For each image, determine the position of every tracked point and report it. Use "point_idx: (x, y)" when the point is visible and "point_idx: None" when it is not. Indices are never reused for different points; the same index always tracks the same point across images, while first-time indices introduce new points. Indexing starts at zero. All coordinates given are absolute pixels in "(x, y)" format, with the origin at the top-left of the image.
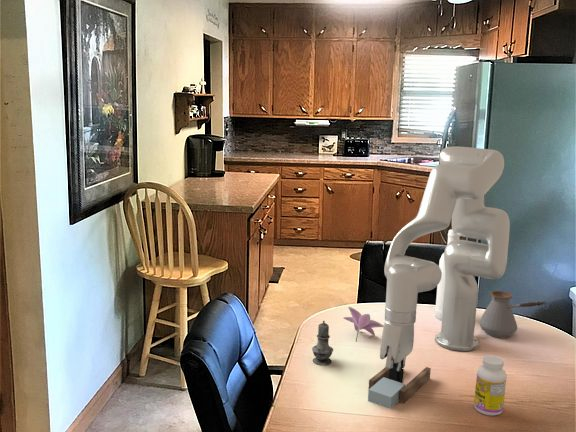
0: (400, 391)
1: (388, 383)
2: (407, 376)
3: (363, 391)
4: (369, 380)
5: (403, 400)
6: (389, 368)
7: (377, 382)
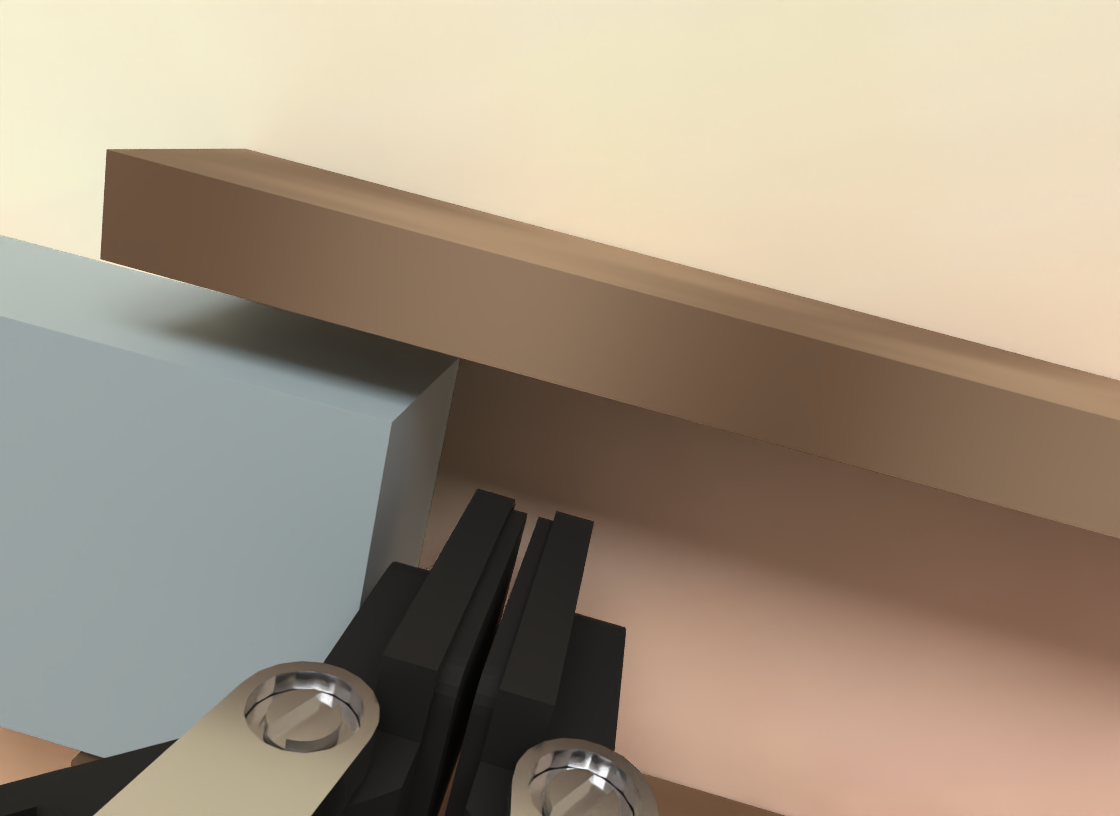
0: (86, 756)
1: (187, 559)
2: (1060, 667)
3: (192, 65)
4: (111, 160)
5: None
6: (274, 679)
7: (108, 351)
